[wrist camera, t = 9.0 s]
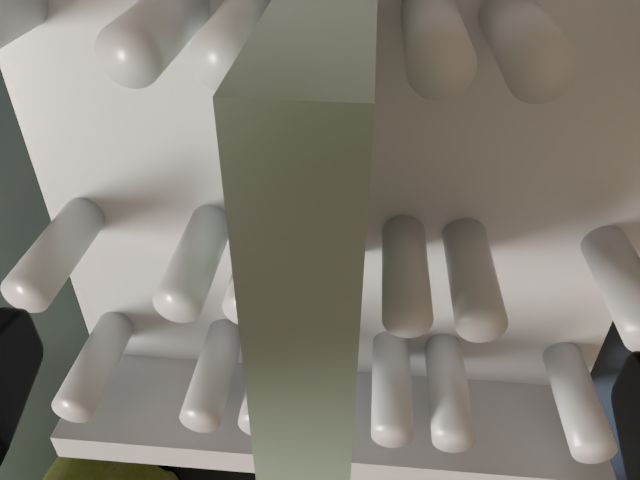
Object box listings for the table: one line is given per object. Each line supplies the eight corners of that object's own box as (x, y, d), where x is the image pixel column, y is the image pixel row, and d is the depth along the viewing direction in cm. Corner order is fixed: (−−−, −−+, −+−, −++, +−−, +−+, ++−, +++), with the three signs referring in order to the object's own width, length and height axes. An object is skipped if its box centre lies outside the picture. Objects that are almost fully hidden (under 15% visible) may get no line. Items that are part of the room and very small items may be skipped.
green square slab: (306, 249, 17) (259, 514, 10) (302, -52, 12) (212, 97, 6) (361, 252, 17) (347, 522, 10) (379, -50, 12) (374, 102, 6)
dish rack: (112, 350, 22) (58, 456, 18) (-133, -441, 10) (-426, -588, 6) (568, 383, 21) (607, 503, 17) (911, -470, 9) (1278, -668, 5)
